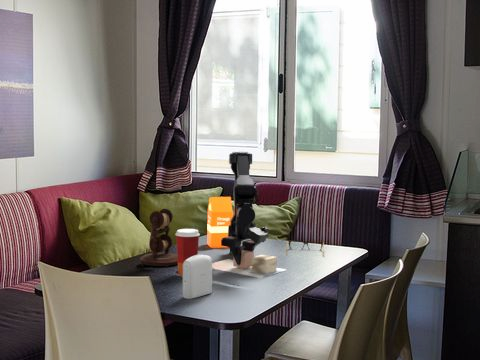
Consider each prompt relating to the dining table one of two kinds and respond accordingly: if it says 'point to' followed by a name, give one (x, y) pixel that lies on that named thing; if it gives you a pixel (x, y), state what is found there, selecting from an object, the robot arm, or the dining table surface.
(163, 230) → the wooden spool stand
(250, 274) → the white board
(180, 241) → the coffee cup
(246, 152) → the robot arm
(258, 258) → the birch block
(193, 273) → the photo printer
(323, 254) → the eyeglasses
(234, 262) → the terracotta block
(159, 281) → the dining table surface
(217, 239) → the orange juice
